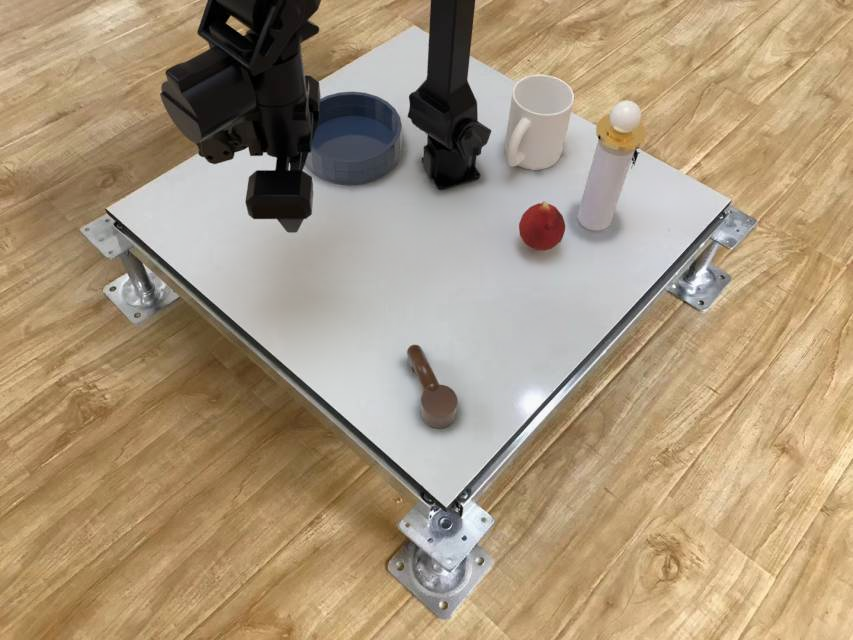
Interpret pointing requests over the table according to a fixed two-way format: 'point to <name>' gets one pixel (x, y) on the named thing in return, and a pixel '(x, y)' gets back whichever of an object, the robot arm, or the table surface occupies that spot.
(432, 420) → the ladle
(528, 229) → the onion
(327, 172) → the bowl
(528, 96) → the mug
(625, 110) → the perfume bottle
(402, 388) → the table surface
